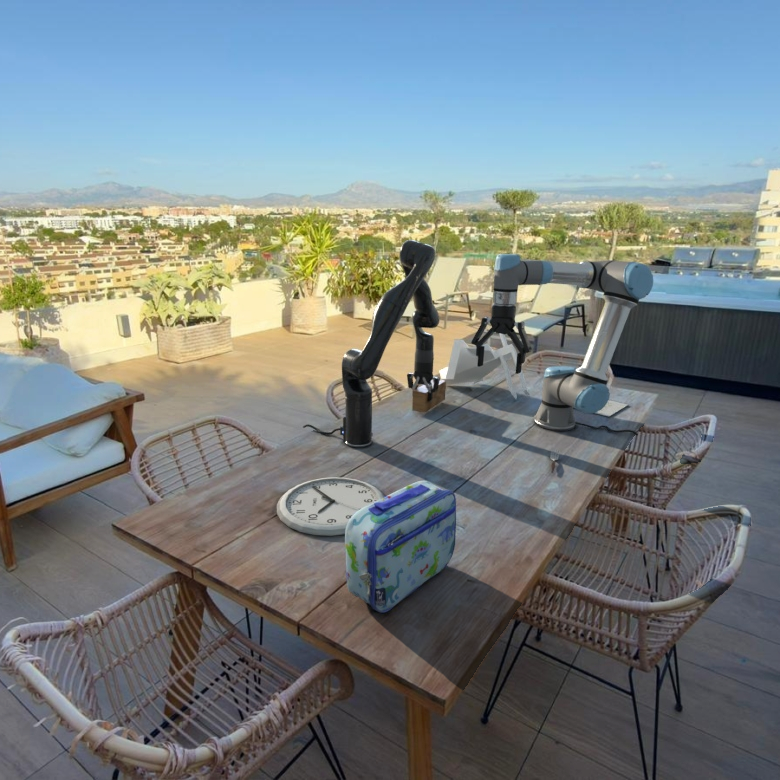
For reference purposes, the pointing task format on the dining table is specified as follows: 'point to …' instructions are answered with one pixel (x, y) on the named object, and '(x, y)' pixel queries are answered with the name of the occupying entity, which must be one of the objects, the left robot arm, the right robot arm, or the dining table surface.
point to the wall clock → (325, 504)
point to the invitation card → (611, 408)
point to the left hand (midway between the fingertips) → (422, 399)
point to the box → (421, 397)
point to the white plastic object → (468, 371)
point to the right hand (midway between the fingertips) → (498, 369)
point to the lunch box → (399, 543)
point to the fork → (554, 460)
